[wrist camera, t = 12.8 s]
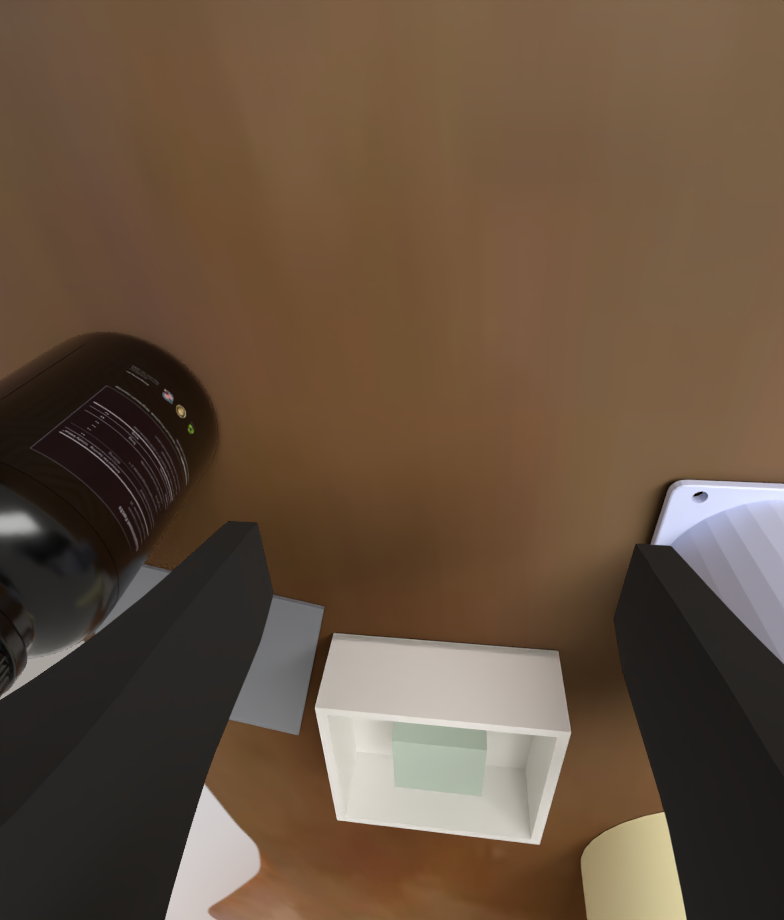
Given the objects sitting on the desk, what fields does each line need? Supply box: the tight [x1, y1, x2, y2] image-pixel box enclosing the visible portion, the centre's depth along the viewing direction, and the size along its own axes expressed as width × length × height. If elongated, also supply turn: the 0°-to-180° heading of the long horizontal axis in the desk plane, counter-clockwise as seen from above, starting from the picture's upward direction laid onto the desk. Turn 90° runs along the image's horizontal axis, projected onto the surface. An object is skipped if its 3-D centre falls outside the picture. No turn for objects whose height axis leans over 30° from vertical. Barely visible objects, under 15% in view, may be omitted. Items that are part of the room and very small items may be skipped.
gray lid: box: [95, 564, 325, 735], centre depth 28 cm, size 12×12×5 cm
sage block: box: [392, 722, 487, 796], centre depth 28 cm, size 4×4×3 cm
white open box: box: [315, 633, 571, 845], centre depth 28 cm, size 11×11×4 cm
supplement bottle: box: [0, 332, 218, 697], centre depth 16 cm, size 7×7×12 cm
